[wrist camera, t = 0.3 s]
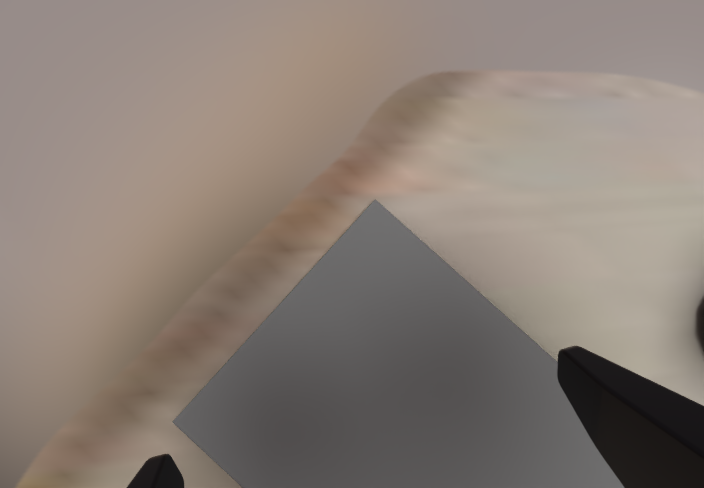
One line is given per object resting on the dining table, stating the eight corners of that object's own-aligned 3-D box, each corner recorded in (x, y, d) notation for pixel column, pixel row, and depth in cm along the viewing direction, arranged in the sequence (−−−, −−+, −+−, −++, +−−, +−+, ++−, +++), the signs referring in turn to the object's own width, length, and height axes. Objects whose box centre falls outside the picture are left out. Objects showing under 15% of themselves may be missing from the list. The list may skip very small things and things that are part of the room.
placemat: (694, 487, 24) (703, 492, 24) (514, 732, 23) (519, 745, 22) (374, 201, 25) (375, 199, 25) (176, 418, 23) (172, 422, 23)
